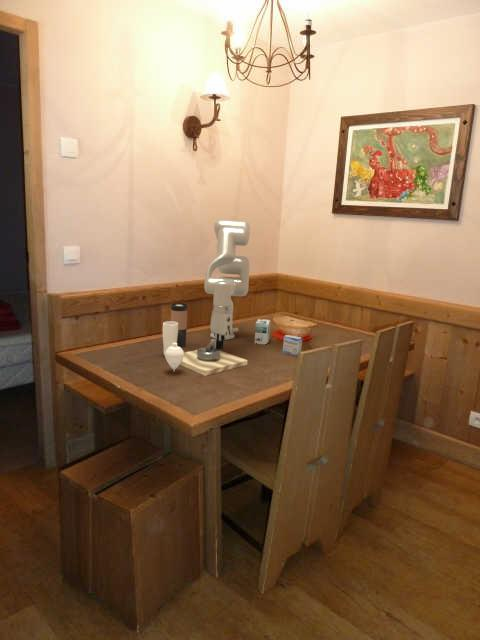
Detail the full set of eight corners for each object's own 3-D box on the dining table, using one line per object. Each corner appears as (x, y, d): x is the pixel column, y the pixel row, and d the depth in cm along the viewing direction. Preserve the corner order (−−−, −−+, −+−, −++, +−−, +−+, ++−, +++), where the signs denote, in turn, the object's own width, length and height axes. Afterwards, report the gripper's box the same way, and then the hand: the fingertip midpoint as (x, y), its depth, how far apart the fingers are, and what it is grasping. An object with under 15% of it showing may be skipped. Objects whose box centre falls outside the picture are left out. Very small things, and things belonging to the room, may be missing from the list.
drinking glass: (174, 358, 203) (175, 325, 200) (159, 356, 204) (160, 323, 201) (179, 354, 209) (180, 322, 206) (165, 352, 211) (165, 320, 207)
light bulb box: (267, 345, 233) (268, 324, 231) (254, 343, 234) (255, 323, 232) (269, 339, 243) (270, 319, 241) (256, 338, 244) (258, 318, 242)
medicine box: (282, 353, 220) (283, 336, 218) (285, 351, 224) (287, 334, 222) (297, 356, 217) (299, 339, 215) (301, 354, 220) (302, 337, 218)
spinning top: (174, 367, 192) (175, 339, 189) (187, 372, 187) (188, 343, 185) (160, 371, 186) (161, 342, 184) (173, 376, 182) (174, 346, 179)
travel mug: (187, 343, 227) (188, 303, 222) (184, 348, 219) (185, 306, 215) (172, 342, 227) (173, 302, 223) (168, 346, 220) (169, 305, 215)
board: (210, 351, 217) (211, 346, 217) (247, 364, 201) (247, 359, 200) (169, 360, 201) (169, 355, 200) (205, 375, 184) (205, 370, 184)
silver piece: (218, 361, 195) (218, 350, 194) (194, 359, 196) (195, 348, 195) (224, 349, 213) (224, 338, 212) (202, 347, 214) (203, 337, 213)
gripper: (239, 311, 203) (237, 351, 207) (216, 305, 213) (214, 343, 217) (226, 312, 198) (224, 354, 202) (204, 306, 208) (202, 345, 212)
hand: (219, 348), depth 209 cm, fingers closed
